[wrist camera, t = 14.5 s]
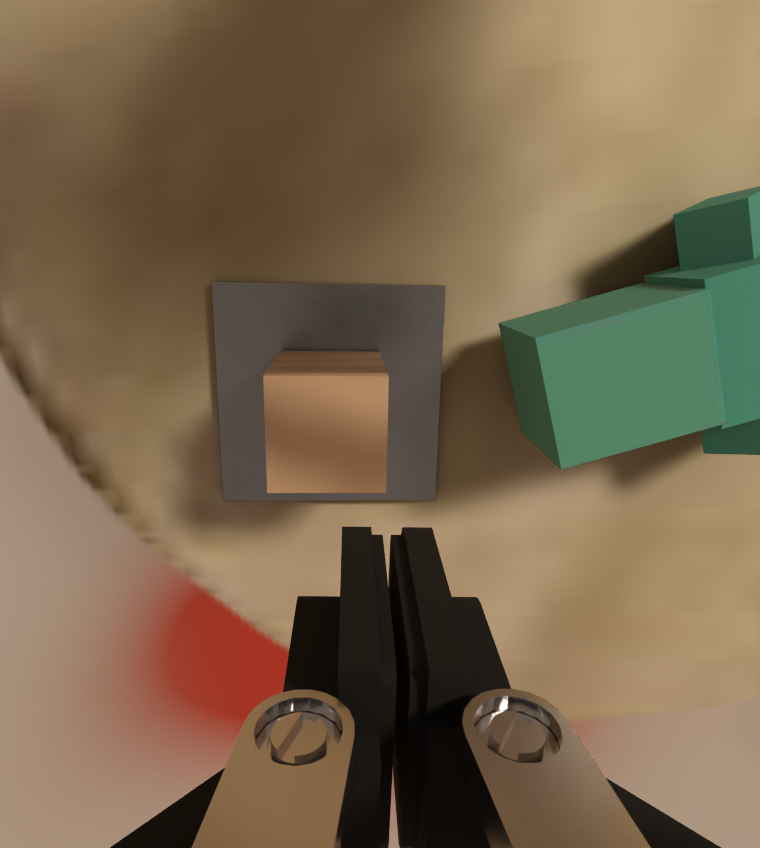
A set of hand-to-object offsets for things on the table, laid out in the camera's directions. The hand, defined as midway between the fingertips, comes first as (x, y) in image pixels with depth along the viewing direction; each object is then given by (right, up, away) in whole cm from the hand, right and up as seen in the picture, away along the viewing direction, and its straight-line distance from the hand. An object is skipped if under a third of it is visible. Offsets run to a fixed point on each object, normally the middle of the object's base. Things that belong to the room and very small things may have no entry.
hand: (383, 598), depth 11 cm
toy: (+21, +10, +22) cm, 32 cm away
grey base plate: (-3, +5, +22) cm, 23 cm away
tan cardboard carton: (-3, +5, +21) cm, 22 cm away
